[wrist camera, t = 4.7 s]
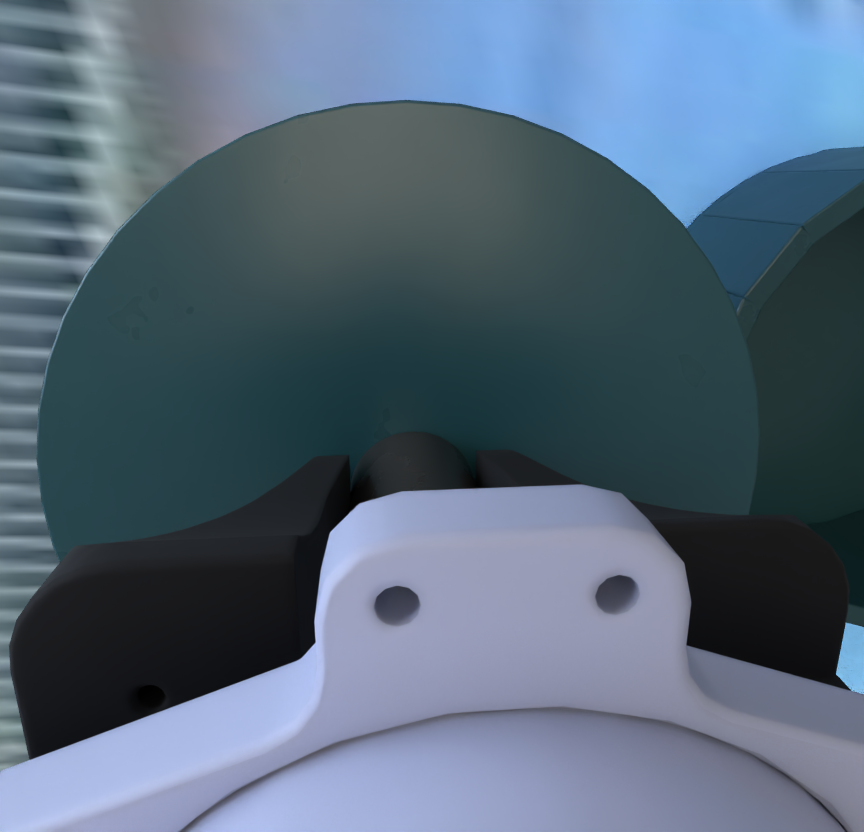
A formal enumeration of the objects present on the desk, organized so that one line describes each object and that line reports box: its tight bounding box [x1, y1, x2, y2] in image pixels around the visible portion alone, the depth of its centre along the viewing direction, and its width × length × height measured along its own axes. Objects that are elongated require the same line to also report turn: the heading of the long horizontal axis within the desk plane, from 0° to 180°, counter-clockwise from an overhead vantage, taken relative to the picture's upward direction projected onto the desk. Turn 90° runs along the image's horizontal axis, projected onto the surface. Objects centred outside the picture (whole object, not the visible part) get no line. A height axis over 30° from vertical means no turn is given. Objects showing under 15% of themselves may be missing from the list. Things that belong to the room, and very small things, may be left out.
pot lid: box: [37, 100, 760, 562], centre depth 13 cm, size 14×14×4 cm
